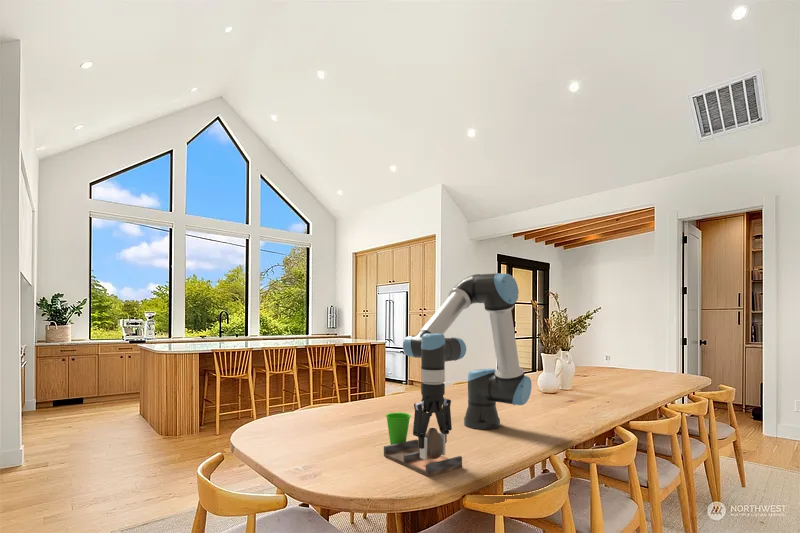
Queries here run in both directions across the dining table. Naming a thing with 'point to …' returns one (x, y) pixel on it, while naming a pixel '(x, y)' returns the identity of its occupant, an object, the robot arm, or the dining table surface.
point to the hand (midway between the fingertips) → (432, 456)
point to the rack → (420, 459)
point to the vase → (434, 444)
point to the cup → (398, 427)
